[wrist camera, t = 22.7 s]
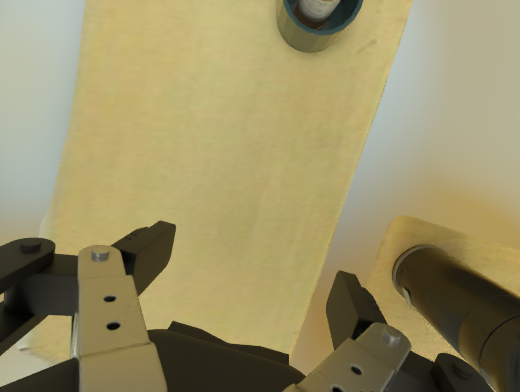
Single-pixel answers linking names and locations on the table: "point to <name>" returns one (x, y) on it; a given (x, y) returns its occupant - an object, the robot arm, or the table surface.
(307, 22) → the sprinkles bottle
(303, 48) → the cup
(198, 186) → the table surface
